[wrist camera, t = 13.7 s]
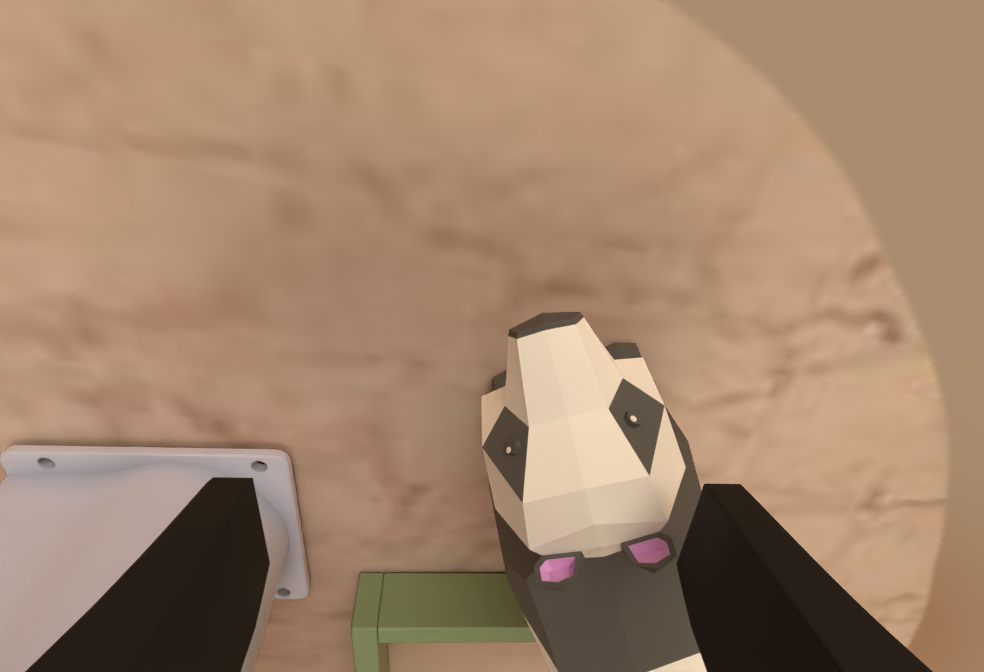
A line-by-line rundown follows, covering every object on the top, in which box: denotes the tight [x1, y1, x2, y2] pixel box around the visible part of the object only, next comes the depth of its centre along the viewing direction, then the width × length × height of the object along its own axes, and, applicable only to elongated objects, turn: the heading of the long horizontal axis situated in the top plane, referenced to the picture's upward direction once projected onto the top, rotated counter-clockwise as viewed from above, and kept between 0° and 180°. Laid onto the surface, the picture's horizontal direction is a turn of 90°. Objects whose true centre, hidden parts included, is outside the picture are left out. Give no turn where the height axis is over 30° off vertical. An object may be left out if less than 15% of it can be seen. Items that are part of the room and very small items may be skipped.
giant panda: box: [482, 312, 707, 672], centre depth 17 cm, size 15×6×10 cm, turn 16°
